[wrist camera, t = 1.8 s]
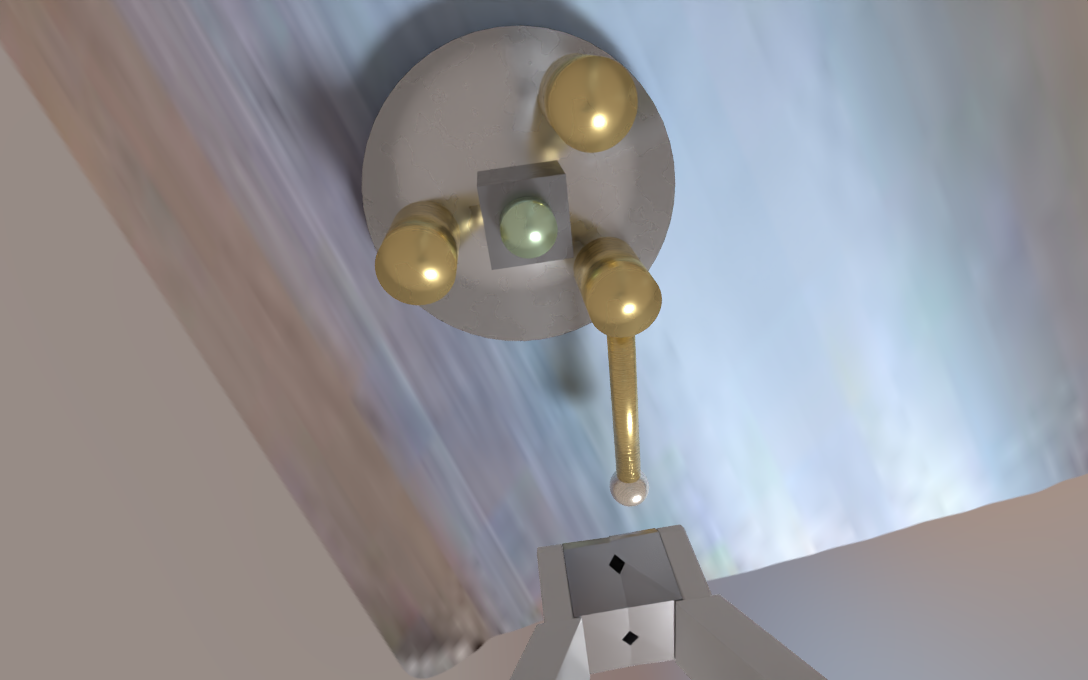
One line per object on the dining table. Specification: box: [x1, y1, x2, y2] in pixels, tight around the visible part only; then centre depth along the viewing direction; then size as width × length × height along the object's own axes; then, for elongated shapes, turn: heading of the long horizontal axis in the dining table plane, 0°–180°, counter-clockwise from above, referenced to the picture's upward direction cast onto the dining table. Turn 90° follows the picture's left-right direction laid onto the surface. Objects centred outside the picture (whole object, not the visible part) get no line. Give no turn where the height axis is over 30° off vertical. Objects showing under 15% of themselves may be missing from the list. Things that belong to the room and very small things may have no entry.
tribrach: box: [362, 25, 675, 341], centre depth 33 cm, size 20×20×8 cm
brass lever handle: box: [573, 237, 662, 506], centre depth 38 cm, size 20×4×6 cm, turn 7°
